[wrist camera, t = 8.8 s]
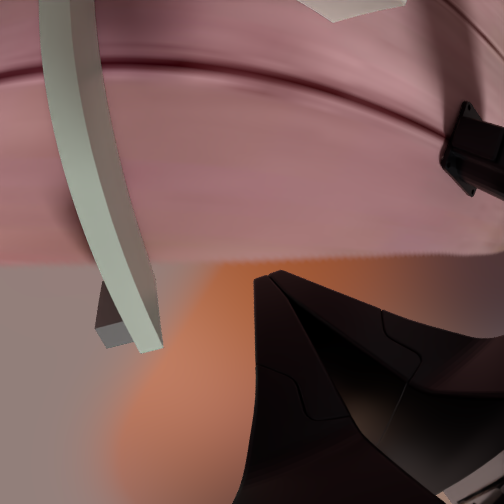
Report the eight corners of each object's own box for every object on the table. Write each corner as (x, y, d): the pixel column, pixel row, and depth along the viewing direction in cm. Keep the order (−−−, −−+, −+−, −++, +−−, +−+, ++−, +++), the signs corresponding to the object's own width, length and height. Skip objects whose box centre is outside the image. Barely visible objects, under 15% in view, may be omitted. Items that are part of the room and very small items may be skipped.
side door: (155, 278, 15) (163, 347, 11) (111, 291, 15) (106, 361, 11) (93, -60, 6) (78, -114, 1) (43, -42, 5) (12, -86, 1)
